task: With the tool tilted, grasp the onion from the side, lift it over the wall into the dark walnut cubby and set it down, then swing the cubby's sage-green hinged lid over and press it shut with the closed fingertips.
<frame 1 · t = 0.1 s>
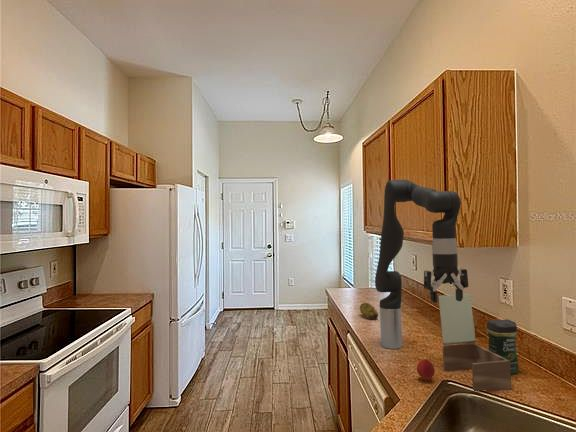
hand: (446, 301, 118), 29 cm above the worktop, tool pointing down, fingers open, 8 cm apart
cubby: (475, 378, 126), on the worktop
coffee jar: (503, 371, 132), on the worktop
onion: (426, 380, 126), on the worktop
avocado: (368, 318, 209), on the worktop
lid: (456, 319, 136), point 18 cm above the worktop, hinge at 97.0°
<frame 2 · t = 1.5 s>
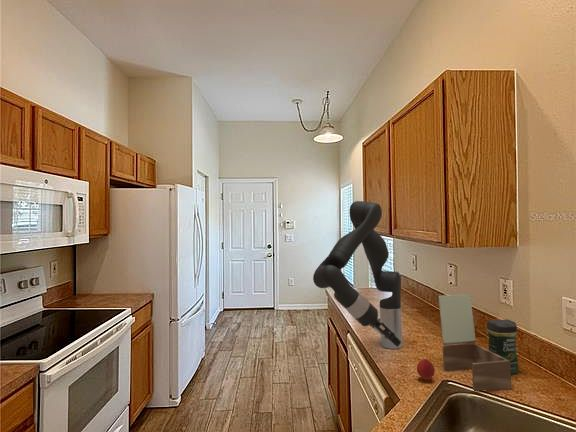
hand: (393, 340, 125), 15 cm above the worktop, tool tilted 45°, fingers open, 8 cm apart
nothing on the worktop moved.
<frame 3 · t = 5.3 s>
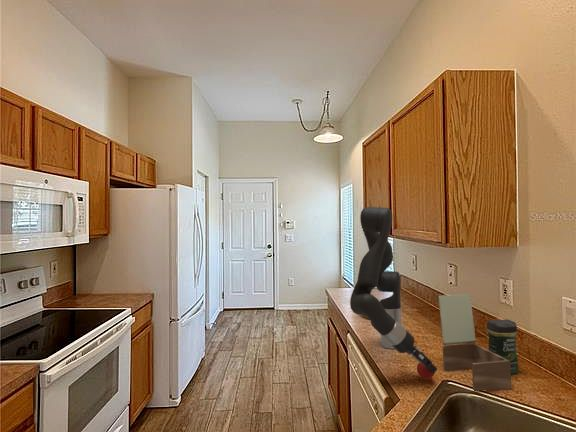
hand: (430, 367, 127), 4 cm above the worktop, tool tilted 45°, fingers closed on onion, 5 cm apart
onion: (426, 380, 126), on the worktop, touching gripper
everything else where it was.
when the fingers open (6 cm above the worktop, at t = 10.7 s): onion drops 2 cm, on the worktop.
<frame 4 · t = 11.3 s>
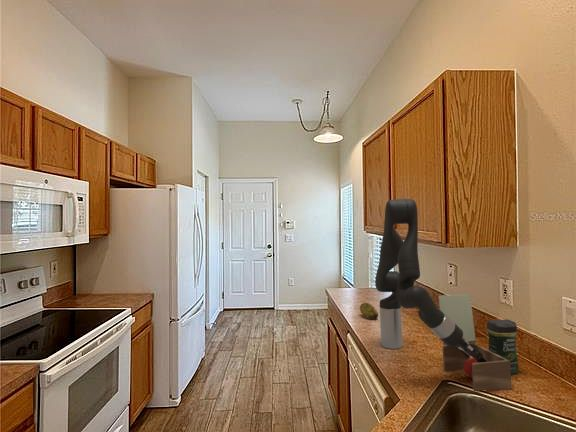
hand: (476, 359, 126), 7 cm above the worktop, tool tilted 45°, fingers open, 8 cm apart
onion: (473, 379, 126), on the worktop
everything else where it was.
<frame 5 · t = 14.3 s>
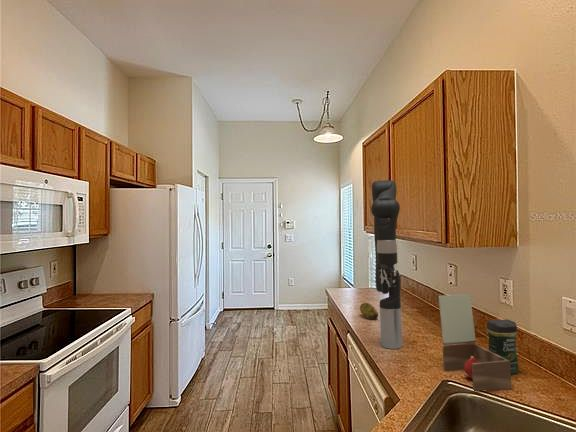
hand: (388, 295, 139), 27 cm above the worktop, tool pointing down, fingers open, 5 cm apart
nothing on the worktop moved.
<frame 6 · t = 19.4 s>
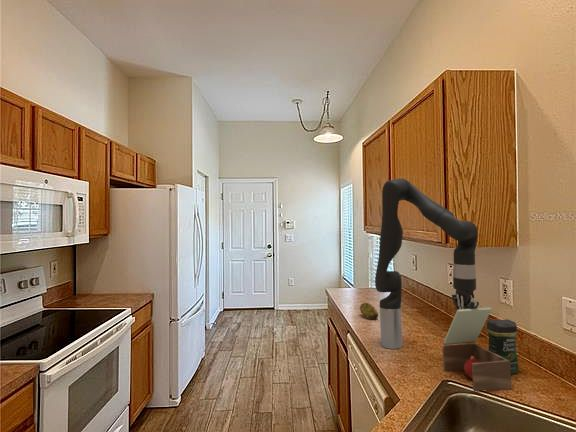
hand: (465, 323, 131), 18 cm above the worktop, tool pointing down, fingers closed
lid: (466, 326, 130), point 17 cm above the worktop, hinge at 56.5°, touching gripper
everything else where it was.
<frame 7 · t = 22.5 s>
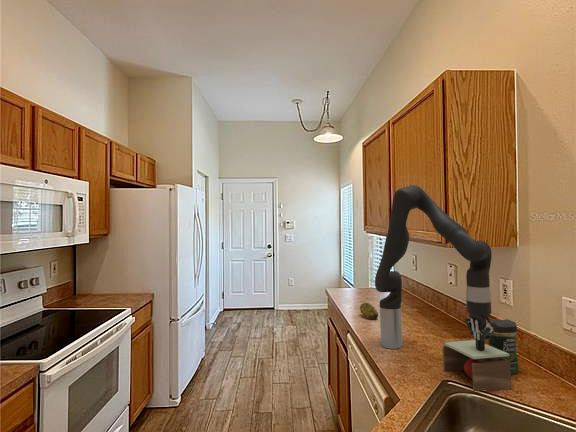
hand: (480, 350, 123), 11 cm above the worktop, tool pointing down, fingers closed
lid: (473, 348, 126), point 10 cm above the worktop, hinge at 3.3°, touching gripper
everything else where it was.
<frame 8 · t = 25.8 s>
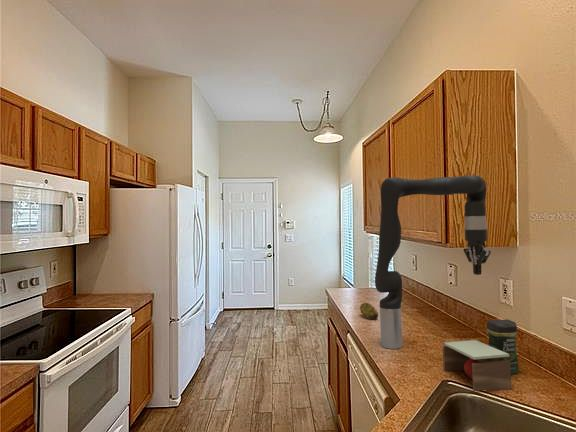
hand: (477, 274, 136), 35 cm above the worktop, tool pointing down, fingers closed
lid: (473, 348, 126), point 10 cm above the worktop, hinge at 2.9°
everything else where it was.
at the end: onion inside the target area (0.7 cm from its centre), on the worktop; lid at +3° (first picture: +97°); the gripper is holding nothing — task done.
